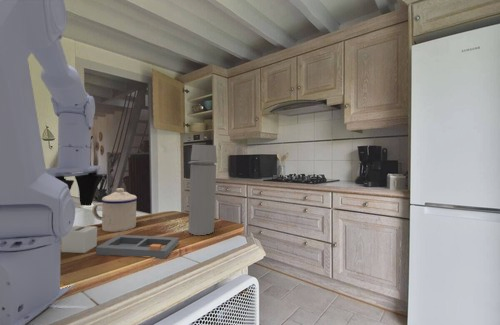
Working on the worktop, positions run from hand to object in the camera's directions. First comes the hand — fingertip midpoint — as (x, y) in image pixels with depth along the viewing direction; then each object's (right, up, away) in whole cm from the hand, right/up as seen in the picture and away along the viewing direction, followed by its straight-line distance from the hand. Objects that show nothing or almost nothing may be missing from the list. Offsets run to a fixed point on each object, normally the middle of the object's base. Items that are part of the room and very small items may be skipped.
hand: (73, 208), depth 52 cm
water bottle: (+24, -10, +16) cm, 31 cm away
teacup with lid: (-1, -9, +17) cm, 19 cm away
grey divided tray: (+14, -10, +2) cm, 17 cm away
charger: (+1, -10, +1) cm, 10 cm away
